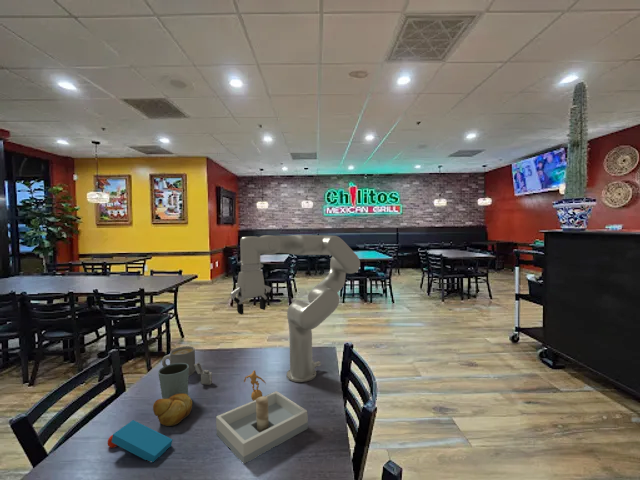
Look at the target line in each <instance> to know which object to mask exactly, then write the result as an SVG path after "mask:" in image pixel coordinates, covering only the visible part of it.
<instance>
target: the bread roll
mask: <svg viewBox="0 0 640 480" xmlns="http://www.w3.org/2000/svg"><path fill="white" fill-rule="evenodd" d="M192 409H193V400H192V398H191V397H190V395H189V394H188V395H187V394H183V393H179V394H175V395H173V396H171V397H170V398H168V399H162V398H159V399H157V400H155V401H154V402H153V405H152V411H153V414H154V415H155V416H156V417H157V419H158V422H159V423H160V424H161V425H162V426H166V427H171V426H176V425H177V424H179V423H180V422H182V420H184V419H186V417H188V416H189V415H190V414H191V412H192Z"/></svg>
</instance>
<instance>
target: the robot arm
mask: <svg viewBox="0 0 640 480" xmlns="http://www.w3.org/2000/svg"><path fill="white" fill-rule="evenodd" d="M239 240H240V242H239V245H240V271H239V272H238V275H237V282H236V283H237V284H236V289H234V290H233V291H231V292H230V294H229V295H230V297H231V299H232V301H233V302H235V303H236V306H237V307H236V310H237V313H238V314H239V315H242V316H243V315H244V304H243V302H244V301H245V299H250V298H255V297H256V298H257V297H259V298H260V299H259V309H260V310H262V311H265V310H266V307H267V303H266V302H267V299H268V296H270V293H271V291H272V290H271V289H272V287H270V286H268V285H266V284H265V279H264V274H263V270H262V268H263V267H264V264H263V263H261V255H276V254H289V255H294V256H295V255H296V256H319V255H320V256H321V255H322V256H331V258H330V261H329V262H330V263H329V266H330V267H329V268H330V269H329V272H328V274H327V275H326V276H325V278H323V280H321V281H320V282H319V283H318V284H317V285H316V286H314V287H313V288H312V289H311V290H309V293H308V294H307V300H308V302H305V301H303V300H295V301H293V302H292V303H290V304H289V306H288V307H287V313H286V314H287V315H286V316H287V324H288V329H289V331H288V333H289V336H288V337H289V369H288V371H287V372H286V378H287V379H288V380H289V381H291V382H295V383H307V382H310V381H312V380H314V379H315V378H316V377H317V371H316V370H315V369H316V368H317V367H321V366H322V363H321V361H320V360H319V361H315V360H313V332H312V331H313V330H314V329H315V328H317V327H318V326H320V325H321V324H322V323H323V322H324V321H325V320H326V319H328V318H329V317H330V316H331V315H332V314H333V313H334V312H335V311H336V309H337V308H338V306H339V303H340V296H339V294H338V293H340V291H341V290H342V288H343V287H344V286H345V283H346V275H347V274H350V275H351V274H355V273H357V272H358V271H359V270H360V267H361V261H360V257H359V256H358V255H357V254H356V253H355V251H354V250H353V249H352V248H351V247H350V246H349V245H348V244H347V243H346V241H344V240H343V239H342V238H341V237H339V236H338V235H323V234H322V235H319V234H318V235H317V234H314V235H313V234H294V235H293V234H292V235H272V234H271V235H268V234H267V235H265V234H264V235H261V236H256V235H255V236H254V235H253V236H251V235H250V236H241V238H240V239H239Z"/></svg>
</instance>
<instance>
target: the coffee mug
mask: <svg viewBox="0 0 640 480" xmlns="http://www.w3.org/2000/svg"><path fill="white" fill-rule="evenodd" d="M161 359H162V360H161V364H162V367H164V366H167V365H168V364H167V363H166V360H167V359H168V360H169V365H170V364H174V363H186V364H188V365H189V373H188V375H189V376H191V375H193V374H195V373H196V369H195V366H194V365H195V364H196V350H195V347H194V346H191V345H186V346H185V345H184V346H179V347H176V348H173V349H171V350H170V353H169V354H167V355H164V356H163V357H162V358H161Z"/></svg>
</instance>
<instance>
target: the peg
mask: <svg viewBox="0 0 640 480" xmlns="http://www.w3.org/2000/svg"><path fill="white" fill-rule="evenodd" d="M265 396H266V395H262V397H258V398H257V399H256V418H257V428H256V430H257V431H258V432H259V433H260V432H262V431H264V430H266V429H268V428H270V427H269V421H268V398H267V397H265Z"/></svg>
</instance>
